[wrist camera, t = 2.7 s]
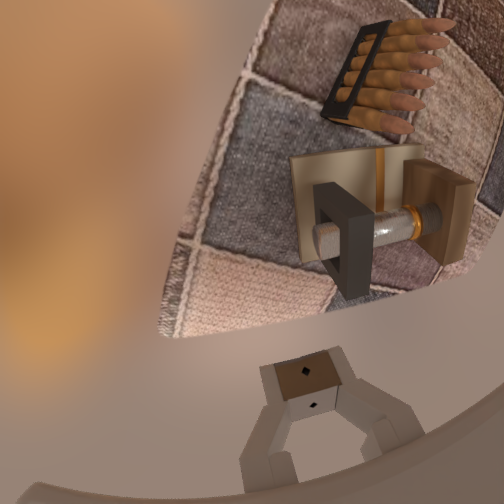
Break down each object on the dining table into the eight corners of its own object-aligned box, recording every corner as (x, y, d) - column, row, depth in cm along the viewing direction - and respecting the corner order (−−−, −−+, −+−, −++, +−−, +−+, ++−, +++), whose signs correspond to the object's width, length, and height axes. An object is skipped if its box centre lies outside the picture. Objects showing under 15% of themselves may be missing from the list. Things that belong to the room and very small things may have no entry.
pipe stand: (418, 142, 26) (478, 166, 18) (413, 231, 32) (459, 271, 24) (289, 156, 25) (326, 186, 18) (299, 258, 31) (329, 314, 23)
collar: (334, 181, 24) (374, 213, 18) (336, 250, 28) (368, 294, 22) (312, 185, 24) (348, 218, 18) (317, 254, 27) (346, 301, 21)
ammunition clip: (335, 124, 24) (417, 151, 14) (319, 115, 24) (396, 136, 13) (376, 36, 20) (466, 23, 10) (361, 26, 19) (448, 4, 9)
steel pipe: (436, 193, 24) (456, 206, 21) (432, 221, 25) (451, 236, 23) (310, 217, 23) (324, 234, 20) (312, 249, 25) (325, 269, 22)
